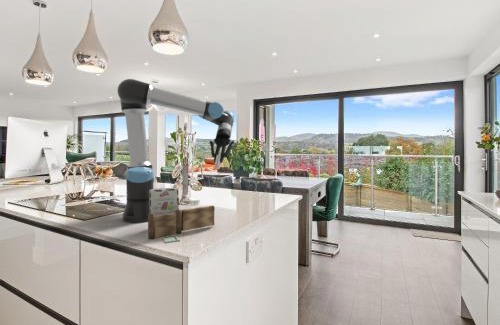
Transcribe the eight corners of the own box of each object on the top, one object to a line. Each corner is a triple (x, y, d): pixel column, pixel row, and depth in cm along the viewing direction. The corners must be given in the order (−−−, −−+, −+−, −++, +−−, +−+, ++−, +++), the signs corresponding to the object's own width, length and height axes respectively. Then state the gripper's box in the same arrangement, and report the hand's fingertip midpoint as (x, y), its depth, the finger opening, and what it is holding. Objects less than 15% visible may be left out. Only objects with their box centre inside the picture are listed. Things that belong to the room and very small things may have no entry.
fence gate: (183, 231, 108) (183, 210, 108) (181, 229, 109) (181, 209, 109) (214, 225, 117) (214, 206, 116) (212, 224, 118) (212, 205, 118)
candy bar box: (177, 225, 118) (177, 187, 118) (179, 228, 114) (179, 188, 113) (149, 228, 114) (148, 188, 113) (150, 231, 109) (149, 190, 109)
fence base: (180, 232, 109) (180, 209, 109) (182, 233, 108) (182, 210, 107) (147, 238, 101) (147, 213, 101) (149, 240, 99) (149, 214, 99)
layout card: (161, 238, 102) (161, 236, 102) (175, 236, 104) (175, 234, 104) (165, 243, 96) (165, 241, 96) (179, 240, 99) (179, 239, 99)
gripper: (237, 138, 150) (231, 172, 134) (212, 138, 152) (204, 171, 136) (235, 128, 145) (230, 161, 129) (210, 128, 146) (201, 161, 130)
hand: (217, 166), depth 132 cm, fingers closed
